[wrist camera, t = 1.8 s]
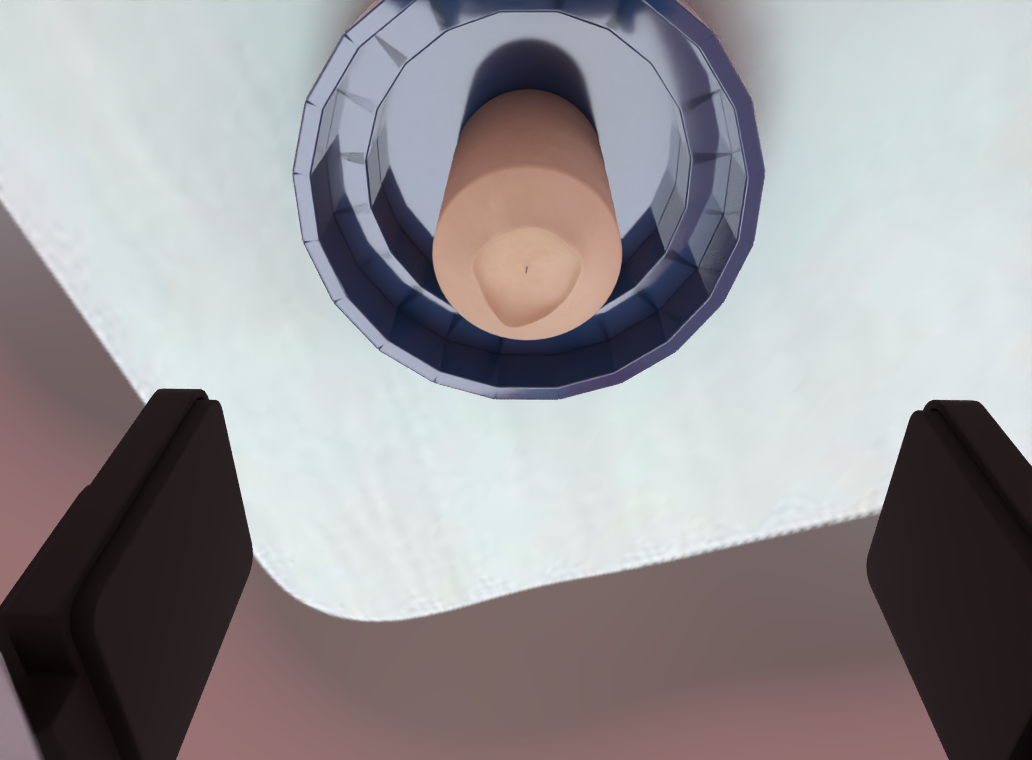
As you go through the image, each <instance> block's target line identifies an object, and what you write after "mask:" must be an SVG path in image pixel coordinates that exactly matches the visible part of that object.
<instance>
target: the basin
mask: <svg viewBox="0 0 1032 760" xmlns="http://www.w3.org/2000/svg"><path fill="white" fill-rule="evenodd" d="M524 89H533V90H542V91H546V92H550V93H553V94H555V95H558V96H560V97H562V98H564V99H566V100H567V101H569V102H570V103H571V104H573V105H574V106H575V107H577V108H578V109H579V110H580V111H581V112H582V113H583V114H584V115H585V117H586V118H587V119H588V121H589V122H590V123H591V125H592V127H593V129H594V130H595V133H596V135H597V137H598V140H599V143H600V147H601V151H602V155H603V159H604V163H605V168H606V173H607V177H608V182H609V186H610V191H611V195H612V200H613V204H614V209H615V213H616V218H617V223H618V227H619V232H620V237H621V244H622V262H621V268H620V273H619V276H618V279H617V283H616V285H615V287H614V289H613V291H612V293H611V295H610V296H609V298H608V299H607V301H606V302H605V303H604V305H603V306H602V307H601V308H600V309H599V310H598V311H597V312H596V313H595V314H594V315H593V316H592V317H591V318H590V319H588V320H587V321H586V322H584V323H583V324H581V325H580V326H578V327H576V328H574V329H572V330H570V331H568V332H566V333H563V334H560V335H557V336H554V337H550V338H545V339H538V340H518V339H510V338H505V337H500V336H497V335H494V334H491V333H489V332H487V331H484V330H482V329H480V328H478V327H477V326H475V325H473V324H472V323H470V322H469V321H468V320H466V319H465V318H464V317H462V316H461V315H460V314H459V313H458V312H457V311H456V310H455V309H454V308H453V307H452V305H451V304H450V303H449V301H448V300H447V299H446V297H445V295H444V293H443V292H442V290H441V288H440V286H439V283H438V281H437V278H436V274H435V271H434V266H433V256H432V254H433V241H434V235H435V230H436V226H437V222H438V218H439V213H440V209H441V205H442V201H443V197H444V193H445V189H446V184H447V180H448V176H449V172H450V168H451V164H452V160H453V155H454V151H455V148H456V145H457V142H458V139H459V136H460V134H461V132H462V130H463V128H464V126H465V124H466V123H467V121H468V120H469V119H470V117H471V116H472V115H473V114H474V113H475V112H476V111H477V110H478V109H479V108H480V107H481V106H483V105H484V104H485V103H487V102H488V101H490V100H491V99H493V98H495V97H497V96H499V95H501V94H504V93H507V92H510V91H516V90H524ZM764 173H765V168H764V162H763V156H762V151H761V145H760V139H759V133H758V128H757V122H756V116H755V111H754V105H753V101H752V98H751V96H750V95H749V93H748V91H747V89H746V88H745V86H744V84H743V82H742V81H741V79H740V77H739V75H738V74H737V72H736V70H735V68H734V67H733V65H732V63H731V61H730V60H729V58H728V56H727V54H726V53H725V51H724V49H723V47H722V46H721V44H720V42H719V40H718V38H717V37H716V35H715V34H714V33H713V31H712V30H711V29H710V28H709V27H708V26H707V24H706V23H705V22H704V21H703V20H702V19H701V18H700V17H699V16H698V15H697V14H696V12H695V11H694V10H693V9H692V8H691V7H690V6H689V5H688V4H687V3H686V2H685V1H684V0H375V1H374V2H373V3H372V4H371V5H370V6H369V7H368V8H367V9H366V10H365V11H364V12H363V13H362V14H361V15H360V16H359V17H358V18H357V20H356V21H355V22H354V23H353V24H352V25H351V26H350V27H349V28H348V29H347V30H346V31H345V33H344V34H343V35H342V37H341V39H340V40H339V42H338V44H337V45H336V47H335V49H334V51H333V52H332V54H331V56H330V58H329V59H328V61H327V63H326V65H325V66H324V68H323V70H322V72H321V73H320V75H319V77H318V79H317V80H316V82H315V84H314V86H313V87H312V89H311V91H310V93H309V94H308V96H307V98H306V101H305V104H304V110H303V115H302V121H301V126H300V132H299V137H298V143H297V148H296V154H295V159H294V165H293V174H292V175H293V182H294V188H295V195H296V201H297V208H298V214H299V221H300V228H301V234H302V240H303V242H304V245H305V247H306V249H307V251H308V253H309V255H310V257H311V259H312V261H313V263H314V265H315V267H316V269H317V271H318V273H319V275H320V277H321V279H322V281H323V283H324V285H325V287H326V289H327V291H328V293H329V295H330V297H331V299H332V301H334V304H335V305H336V306H337V307H338V308H339V309H340V310H341V311H342V312H343V313H344V314H345V315H346V316H347V317H348V318H349V320H350V321H351V322H352V323H353V324H354V325H355V326H356V327H357V328H358V329H359V330H360V331H361V332H362V333H363V334H364V335H365V336H366V337H367V338H368V340H369V341H370V342H371V343H372V344H373V345H374V346H375V347H376V348H377V349H379V351H381V352H382V353H384V354H386V355H388V356H389V357H391V358H393V359H394V360H396V361H398V362H399V363H401V364H403V365H404V366H406V367H408V368H410V369H411V370H413V371H415V372H416V373H418V374H420V375H421V376H423V377H425V378H427V379H428V380H430V381H432V382H434V383H437V384H440V385H444V386H448V387H452V388H455V389H459V390H463V391H466V392H470V393H474V394H477V395H481V396H485V397H488V398H492V399H495V398H496V399H526V400H558V399H563V398H567V397H571V396H575V395H578V394H582V393H586V392H590V391H594V390H597V389H601V388H605V387H609V386H613V385H617V384H620V383H623V382H624V381H626V380H628V379H630V378H631V377H633V376H635V375H637V374H638V373H640V372H642V371H644V370H645V369H647V368H649V367H651V366H652V365H654V364H656V363H657V362H659V361H661V360H663V359H664V358H666V357H668V356H670V355H671V354H673V353H675V352H676V350H678V349H679V348H680V347H681V346H682V345H683V344H684V343H685V342H686V341H687V340H688V339H689V338H690V337H691V336H692V335H693V334H694V333H695V332H696V331H697V330H698V329H699V328H700V327H701V326H702V325H703V324H704V323H705V322H706V320H707V319H708V318H709V317H710V316H711V315H712V314H713V313H714V312H715V311H716V310H717V309H718V308H719V307H720V306H721V305H722V303H723V302H724V301H725V299H726V297H727V295H728V293H729V291H730V289H731V287H732V285H733V283H734V281H735V279H736V277H737V275H738V273H739V271H740V269H741V268H742V266H743V264H744V262H745V260H746V258H747V256H748V254H749V252H750V250H751V248H752V246H753V242H754V240H755V234H756V228H757V221H758V215H759V209H760V203H761V197H762V190H763V184H764V178H765V174H764Z"/></svg>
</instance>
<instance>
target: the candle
mask: <svg viewBox="0 0 1032 760" xmlns="http://www.w3.org/2000/svg"><path fill="white" fill-rule="evenodd" d="M432 256H433V266H434V271H435V274H436V278H437V281H438V283H439V286H440V288H441V290H442V292H443V293H444V295H445V297H446V299H447V300H448V301H449V303H450V304H451V305H452V307H453V308H454V309H455V310H456V311H457V312H458V313H459V314H460V315H461V316H462V317H464V318H465V319H466V320H468V321H469V322H470V323H472V324H473V325H475V326H477V327H478V328H480V329H482V330H484V331H487V332H489V333H491V334H494V335H497V336H500V337H505V338H510V339H518V340H538V339H545V338H550V337H554V336H557V335H560V334H563V333H566V332H568V331H570V330H572V329H574V328H576V327H578V326H580V325H581V324H583V323H584V322H586V321H587V320H588V319H590V318H591V317H592V316H593V315H594V314H595V313H596V312H597V311H598V310H599V309H600V308H601V307H602V306H603V305H604V303H605V302H606V301H607V299H608V298H609V296H610V295H611V293H612V291H613V289H614V287H615V285H616V283H617V279H618V276H619V273H620V268H621V262H622V244H621V237H620V232H619V227H618V223H617V218H616V213H615V209H614V204H613V200H612V195H611V191H610V186H609V182H608V177H607V173H606V168H605V163H604V159H603V155H602V151H601V147H600V143H599V140H598V137H597V135H596V133H595V130H594V129H593V127H592V125H591V123H590V122H589V121H588V119H587V118H586V117H585V115H584V114H583V113H582V112H581V111H580V110H579V109H578V108H577V107H575V106H574V105H573V104H571V103H570V102H569V101H567V100H566V99H564V98H562V97H560V96H558V95H555V94H553V93H550V92H546V91H542V90H533V89H524V90H516V91H510V92H507V93H504V94H501V95H499V96H497V97H495V98H493V99H491V100H490V101H488V102H487V103H485V104H484V105H483V106H481V107H480V108H479V109H478V110H477V111H476V112H475V113H474V114H473V115H472V116H471V117H470V119H469V120H468V121H467V123H466V124H465V126H464V128H463V130H462V132H461V134H460V136H459V139H458V142H457V145H456V148H455V151H454V155H453V160H452V164H451V168H450V172H449V176H448V180H447V184H446V189H445V193H444V197H443V201H442V205H441V209H440V213H439V218H438V222H437V226H436V230H435V235H434V241H433V254H432Z"/></svg>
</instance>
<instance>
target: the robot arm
mask: <svg viewBox="0 0 1032 760" xmlns="http://www.w3.org/2000/svg"><path fill="white" fill-rule="evenodd" d="M252 558H253V548H252V542H251V538H250V533H249V528H248V524H247V519H246V515H245V510H244V506H243V501H242V497H241V492H240V488H239V483H238V478H237V474H236V469H235V465H234V460H233V456H232V451H231V447H230V442H229V437H228V433H227V428H226V424H225V419H224V415H223V410H222V407H221V404H220V403H219V401H217V400H209V398H208V396H207V394H206V393H205V391H203V390H202V389H159V390H157V391H156V392H155V393H154V394H153V396H152V397H151V398H150V400H149V401H148V403H147V404H146V406H145V407H144V408H143V410H142V411H141V413H140V414H139V416H138V417H137V419H136V420H135V421H134V423H133V424H132V426H131V427H130V428H129V430H128V431H127V433H126V434H125V436H124V437H123V438H122V440H121V441H120V443H119V444H118V446H117V447H116V449H115V450H114V451H113V453H112V454H111V456H110V457H109V458H108V460H107V461H106V463H105V464H104V466H103V467H102V469H101V470H100V471H99V473H98V474H97V476H96V477H95V479H94V480H93V481H92V483H91V484H90V485H88V486H86V487H85V488H84V490H83V491H82V492H81V493H80V494H79V495H78V496H77V498H76V499H75V501H74V502H73V503H72V505H71V506H70V508H69V509H68V511H67V512H66V513H65V515H64V516H63V518H62V519H61V520H60V522H59V523H58V525H57V526H56V527H55V529H54V530H53V532H52V533H51V535H50V536H49V538H48V539H47V540H46V542H45V543H44V544H43V546H42V547H41V549H40V550H39V552H38V553H37V555H36V556H35V557H34V559H33V560H32V561H31V563H30V564H29V566H28V567H27V568H26V570H25V571H24V573H23V574H22V576H21V577H20V578H19V580H18V581H17V583H16V584H15V586H14V587H13V589H12V590H11V591H10V593H9V594H8V595H7V597H6V598H5V600H4V601H3V602H2V604H1V605H0V760H176V758H177V756H178V753H179V750H180V748H181V745H182V743H183V740H184V738H185V735H186V733H187V730H188V728H189V725H190V723H191V720H192V718H193V715H194V713H195V710H196V708H197V705H198V702H199V700H200V697H201V695H202V692H203V690H204V687H205V685H206V682H207V680H208V677H209V675H210V672H211V670H212V667H213V665H214V662H215V659H216V657H217V654H218V652H219V649H220V647H221V644H222V641H223V639H224V637H225V634H226V631H227V629H228V627H229V624H230V622H231V619H232V616H233V614H234V611H235V609H236V606H237V604H238V601H239V599H240V596H241V593H242V591H243V589H244V586H245V584H246V581H247V578H248V576H249V573H250V570H251V566H252ZM867 576H868V580H869V583H870V586H871V588H872V590H873V593H874V595H875V597H876V599H877V601H878V604H879V606H880V608H881V610H882V612H883V615H884V617H885V619H886V621H887V624H888V626H889V628H890V630H891V633H892V635H893V637H894V639H895V641H896V643H897V646H898V648H899V650H900V652H901V655H902V657H903V659H904V661H905V664H906V666H907V668H908V670H909V672H910V674H911V677H912V679H913V681H914V684H915V685H916V688H917V690H918V692H919V695H920V697H921V699H922V701H923V703H924V705H925V708H926V710H927V712H928V715H929V717H930V719H931V721H932V723H933V726H934V728H935V730H936V732H937V734H938V737H939V739H940V741H941V743H942V746H943V748H944V750H945V752H946V754H947V757H948V759H949V760H1032V466H1031V465H1030V464H1029V462H1028V461H1027V460H1026V459H1025V457H1024V456H1023V455H1022V454H1021V452H1020V451H1019V450H1018V449H1017V447H1016V446H1015V445H1014V444H1013V442H1012V441H1011V440H1010V439H1009V437H1008V436H1007V435H1006V434H1005V432H1004V431H1003V430H1002V429H1001V427H1000V426H999V425H998V424H997V422H996V421H995V420H994V419H993V417H992V416H991V415H990V414H989V412H988V411H987V410H986V409H985V407H984V406H983V405H982V404H981V403H979V402H978V401H972V400H932V401H930V402H928V403H927V404H926V406H925V407H924V409H923V410H917V411H915V412H914V413H913V414H912V415H911V417H910V420H909V423H908V426H907V429H906V432H905V436H904V439H903V442H902V445H901V449H900V452H899V455H898V459H897V462H896V465H895V468H894V472H893V475H892V478H891V481H890V485H889V488H888V491H887V494H886V498H885V501H884V504H883V507H882V511H881V514H880V517H879V520H878V524H877V527H876V530H875V533H874V537H873V540H872V543H871V546H870V550H869V553H868V557H867Z"/></svg>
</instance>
